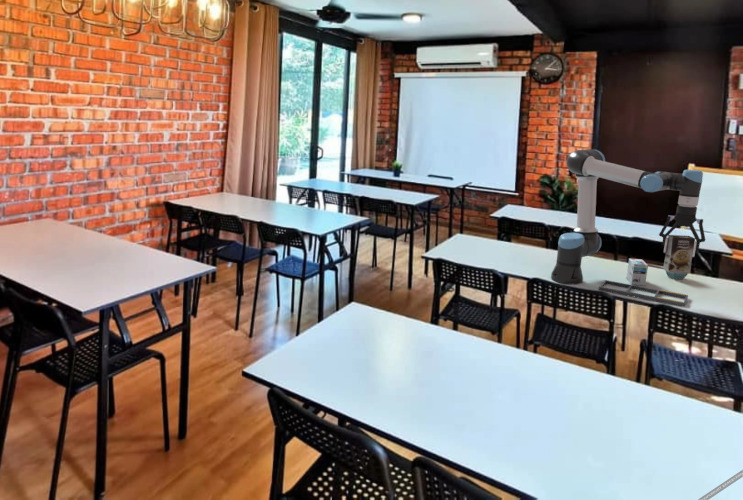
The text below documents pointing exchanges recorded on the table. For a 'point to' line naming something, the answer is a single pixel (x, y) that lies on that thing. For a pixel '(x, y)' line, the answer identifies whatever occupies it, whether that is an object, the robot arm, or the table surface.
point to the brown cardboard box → (679, 254)
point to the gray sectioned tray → (646, 291)
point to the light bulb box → (637, 271)
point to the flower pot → (676, 275)
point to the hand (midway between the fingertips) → (678, 254)
